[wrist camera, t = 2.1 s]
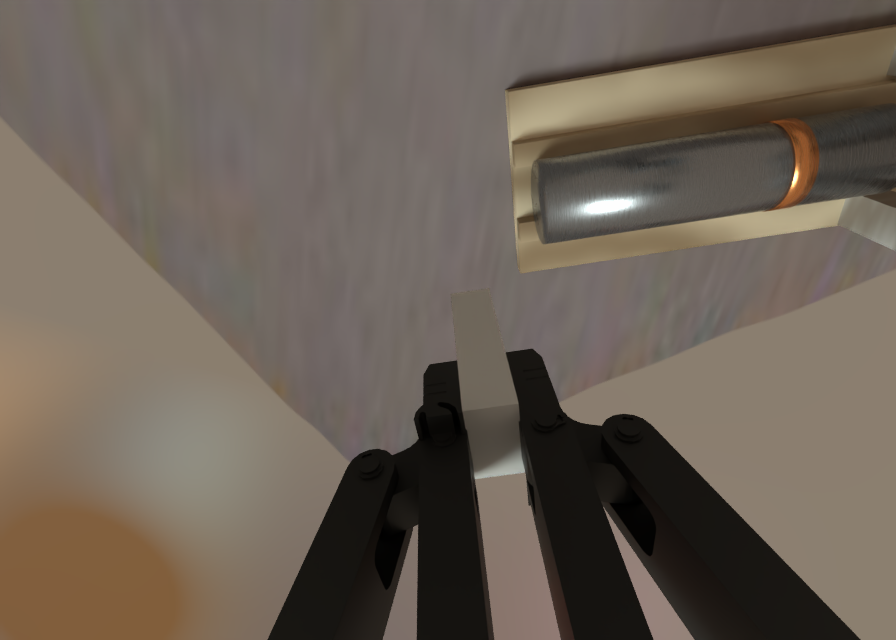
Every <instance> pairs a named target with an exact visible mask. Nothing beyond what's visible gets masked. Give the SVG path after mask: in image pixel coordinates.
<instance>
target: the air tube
mask: <svg viewBox="0 0 896 640" xmlns="http://www.w3.org/2000/svg"><path fill="white" fill-rule="evenodd" d="M895 187H896V104H895V103H887V104H880V105H874V106H867V107H861V108H855V109H849V110H842V111H836V112H830V113H824V114H818V115H811V116H805V117H799V118H787V119H781V120H775V121H768V122H764V123H762V124H756V125H749V126H743V127H737V128H731V129H725V130H718V131H712V132H706V133H700V134H694V135H687V136H681V137H675V138H669V139H662V140H656V141H650V142H644V143H638V144H631V145H625V146H619V147H613V148H607V149H600V150H594V151H588V152H582V153H576V154H569V155H563V156H557V157H551V158H545V159H538V160H534V162H533V164H532V169H531V199H532V208H533V215H534V221H535V226H536V230H537V234H538V237H539V239H540V241H541V243H542V244H544V245H545V244H551V243H558V242H564V241H571V240H577V239H584V238H590V237H597V236H604V235H610V234H617V233H623V232H630V231H636V230H643V229H649V228H656V227H662V226H669V225H675V224H682V223H689V222H695V221H702V220H708V219H715V218H721V217H728V216H734V215H741V214H747V213H754V212H761V211H762V212H766V211H773V210H779V209H786V208H791V207H793V206H800V205H806V204H813V203H819V202H826V201H833V200H839V199H846V198H852V197H859V196H865V195H872V194H878V193H884V192H887V191H890V190H892V189H894V188H895Z"/></svg>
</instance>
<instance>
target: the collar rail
mask: <svg viewBox="0 0 896 640" xmlns="http://www.w3.org/2000/svg"><path fill="white" fill-rule="evenodd" d="M505 95H506V109H507V123H508V137H509V151H510V165H511V179H512V193H513V207H514V222H515V236H516V250H517V264H518V268H519V271H520V273H526V272H533V271H539V270H546V269H552V268H559V267H566V266H572V265H579V264H586V263H592V262H599V261H606V260H612V259H619V258H626V257H632V256H639V255H646V254H652V253H659V252H665V251H672V250H679V249H685V248H692V247H699V246H705V245H712V244H719V243H725V242H732V241H739V240H745V239H752V238H759V237H765V236H772V235H778V234H785V233H792V232H798V231H805V230H812V229H818V228H825V227H832V226H838V225H840V226H842V227H844V228H846V229H848V230H851V231H853V232H855V233H857V234H859V235H862V236H864V237H866V238H868V239H870V240H872V241H875V242H877V243H879V244H881V245H883V246H886V247H888V248H890V249H892V250H894V251H896V187H895V188H894V189H892V190H890V191H887V192H884V193H878V194H872V195H865V196H859V197H852V198H846V199H839V200H833V201H826V202H819V203H813V204H806V205H800V206H793V207H791V208H786V209H779V210H773V211H766V212H762V211H761V212H754V213H747V214H741V215H734V216H728V217H721V218H715V219H708V220H702V221H695V222H689V223H682V224H675V225H669V226H662V227H656V228H649V229H643V230H636V231H630V232H623V233H617V234H610V235H604V236H597V237H590V238H584V239H577V240H571V241H564V242H558V243H551V244H545V245H544V244H542V243H541V241H540V239H539V237H538V234H537V230H536V226H535V221H534V215H533V208H532V199H531V169H532V164H533V162H534V160H538V159H545V158H551V157H557V156H563V155H569V154H576V153H582V152H588V151H594V150H600V149H607V148H613V147H619V146H625V145H631V144H638V143H644V142H650V141H656V140H662V139H669V138H675V137H681V136H687V135H694V134H700V133H706V132H712V131H718V130H725V129H731V128H737V127H743V126H749V125H756V124H762V123H764V122H768V121H775V120H781V119H787V118H799V117H805V116H811V115H818V114H824V113H830V112H836V111H842V110H849V109H855V108H861V107H867V106H874V105H880V104H887V103H895V104H896V24H894V25H888V26H882V27H876V28H870V29H864V30H858V31H852V32H846V33H840V34H834V35H828V36H822V37H817V38H811V39H805V40H799V41H793V42H787V43H781V44H775V45H769V46H763V47H757V48H751V49H745V50H739V51H733V52H727V53H721V54H716V55H710V56H704V57H698V58H692V59H686V60H680V61H674V62H668V63H662V64H656V65H650V66H644V67H638V68H632V69H626V70H620V71H615V72H609V73H603V74H597V75H591V76H585V77H579V78H573V79H567V80H561V81H555V82H549V83H543V84H537V85H531V86H525V87H519V88H514V89H508V90H505Z"/></svg>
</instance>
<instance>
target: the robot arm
mask: <svg viewBox="0 0 896 640" xmlns="http://www.w3.org/2000/svg"><path fill="white" fill-rule="evenodd" d="M451 303H452V313H453V323H454V333H455V343H456V353H457V361H450V362H443V363H436V364H430V365H429V366H428V368H427V370H426V372H425V373H424V383H423V386H424V388H423V395H424V396H423V405H422V406H421V407H420V408H419V409H418V411H417V412H416V414H415V417H414V422H415V426H416V430H417V433H418V437H419V439H418V440H417V442H416V443H415V444H413V445H412V446H411V447H410V448H408V449H406V450H404V451H402V452H399V453H397V454H394V455H391V454H390V453H389V452H387V451H385V450H381V449H373V450H368V451H365V452H363V453H360V454H359V455H358V456H357V457H355V458H354V459H353V460H352V461H351V463H350V464H349V465H348V467H347V469H346V471H345V473H344V476H343V478H342V480H341V482H340V484H339V486H338V489H337V491H336V493H335V495H334V497H333V500H332V502H331V504H330V506H329V508H328V511H327V512H326V515H325V517H324V519H323V521H322V524H321V525H320V527H319V530H318V532H317V534H316V536H315V538H314V540H313V543H312V545H311V547H310V549H309V551H308V553H307V556H306V558H305V560H304V562H303V564H302V566H301V569H300V571H299V573H298V575H297V577H296V579H295V581H294V584H293V586H292V588H291V590H290V592H289V594H288V597H287V599H286V601H285V603H284V606H283V607H282V610H281V612H280V614H279V616H278V618H277V620H276V623H275V625H274V627H273V629H272V631H271V633H270V636H269V638H268V640H383V636H384V632H385V629H386V625H387V621H388V618H389V614H390V610H391V607H392V603H393V599H394V596H395V593H396V589H397V585H398V581H399V578H400V575H401V571H402V567H403V564H404V560H405V556H406V553H407V549H408V546H409V542H410V538H411V535H412V531H413V527H414V526H416V525H418V590H417V592H418V593H417V640H494V633H493V625H492V617H491V608H490V599H489V591H488V582H487V574H486V565H485V557H484V548H483V539H482V531H481V523H480V514H479V505H478V497H477V491H476V485H475V479H478V478H486V477H494V476H502V475H509V474H517V473H524V472H525V473H526V479H527V491H528V503H529V505H531V507H532V512H533V516H534V521H535V525H536V530H537V534H538V538H539V543H540V547H541V552H542V556H543V561H544V565H545V570H546V574H547V579H548V583H549V588H550V592H551V597H552V601H553V606H554V610H555V615H556V619H557V623H558V628H559V632H560V637H561V640H653V637H652V635H651V632H650V629H649V627H648V624H647V621H646V619H645V616H644V614H643V611H642V608H641V606H640V603H639V600H638V598H637V595H636V592H635V590H634V587H633V585H632V582H631V579H630V577H629V574H628V571H627V569H626V566H625V563H624V561H623V558H622V556H621V553H620V550H619V548H618V545H617V542H616V540H615V537H614V534H613V532H612V529H611V526H610V524H609V521H608V519H607V516H606V513H605V511H604V508H605V510H606V511H607V512H608V514H609V515H610V517H611V518H612V520H613V521H614V523H615V524H616V526H617V527H618V529H619V530H620V531H621V533H622V534H623V536H624V537H625V539H626V540H627V542H628V543H629V545H630V546H631V547H632V549H633V550H634V552H635V553H636V554H637V556H638V558H639V559H640V560H641V562H642V563H643V565H644V566H645V568H646V569H647V571H648V572H649V574H650V575H651V577H652V578H653V579H654V581H655V582H656V584H657V585H658V587H659V588H660V590H661V591H662V593H663V594H664V596H665V597H666V598H667V600H668V601H669V603H670V604H671V606H672V607H673V609H674V610H675V612H676V613H677V615H678V616H679V618H680V619H681V620H682V622H683V623H684V625H685V626H686V628H687V629H688V631H689V632H690V634H691V635H692V636H693V638H694V639H695V640H860V639H859V638H858V637H857V636H856V635H855V633H854V632H852V630H851V629H850V628H849V627H848V626H847V625H846V624H845V623H844V622H843V621H842V620H841V619H840V618H839V617H838V616H837V615H836V614H835V613H834V612H833V611H832V610H831V609H830V608H829V607H828V606H827V605H826V604H825V603H824V602H823V601H822V600H821V599H820V598H819V597H818V596H817V594H816V593H815V592H814V591H813V590H811V588H810V587H809V586H808V585H807V584H806V583H805V582H804V581H803V580H802V579H801V578H800V577H799V576H798V575H797V574H796V573H795V572H794V571H793V570H792V569H791V568H790V567H789V566H788V565H787V564H786V563H785V562H784V561H783V560H782V559H781V558H780V557H779V555H778V554H777V553H775V551H773V549H772V548H771V547H770V546H769V545H768V544H767V543H766V542H765V541H764V540H763V539H762V538H761V537H760V536H759V535H758V534H757V533H756V532H755V531H754V530H753V529H752V528H751V527H750V526H749V525H748V524H747V523H746V522H745V521H744V520H743V519H742V517H740V516H739V514H738V513H737V512H736V511H735V510H734V509H733V508H732V507H731V506H730V505H729V504H728V503H727V502H726V501H725V500H724V499H723V498H722V497H721V496H720V495H719V494H718V493H717V492H716V491H715V490H714V489H713V488H712V487H711V486H710V485H709V484H708V483H707V482H706V481H705V480H704V479H703V477H702V476H701V475H700V474H699V473H698V472H697V471H696V470H695V469H694V468H693V467H692V466H691V465H690V464H689V463H688V462H687V461H686V460H685V459H684V458H683V457H682V456H681V455H680V454H679V453H678V452H677V451H676V450H675V449H674V448H673V447H672V446H671V445H670V444H669V443H668V442H667V440H666V439H665V438H663V436H662V435H661V434H660V433H659V432H658V431H657V430H656V429H655V428H654V427H653V426H652V425H651V424H649V423H648V422H647V421H646V420H644V419H643V418H640V417H637V416H635V415H628V414H620V415H614V416H612V417H610V418H608V419H606V421H605V422H604V423H603V425H602V426H598V425H589V424H584V423H580V422H577V421H574V420H572V419H571V418H569V417H568V416H567V415H566V414H565V413H564V412H563V411H562V409H561V407H560V405H559V402H558V399H557V397H556V394H555V391H554V389H553V386H552V383H551V380H550V378H549V375H548V372H547V370H546V367H545V364H544V361H543V359H542V357H541V356H540V355H539V354H538V353H537V352H536V351H534V350H533V349H527V350H520V351H513V352H506V353H505V349H504V345H503V341H502V337H501V333H500V329H499V325H498V322H497V318H496V314H495V310H494V306H493V302H492V298H491V294H490V290H489V288H487V289H481V290H474V291H467V292H461V293H454V294H451ZM524 469H525V471H524ZM603 507H604V508H603Z"/></svg>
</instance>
